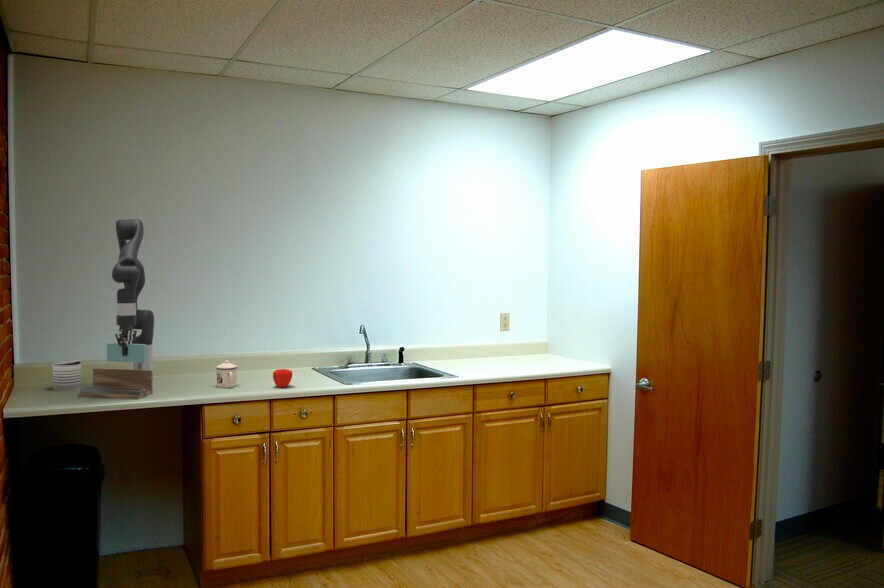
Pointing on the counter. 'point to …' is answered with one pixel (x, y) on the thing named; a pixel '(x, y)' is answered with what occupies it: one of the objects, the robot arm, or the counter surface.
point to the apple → (282, 377)
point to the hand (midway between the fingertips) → (126, 355)
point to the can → (66, 375)
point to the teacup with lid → (226, 375)
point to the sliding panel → (134, 353)
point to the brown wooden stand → (119, 384)
